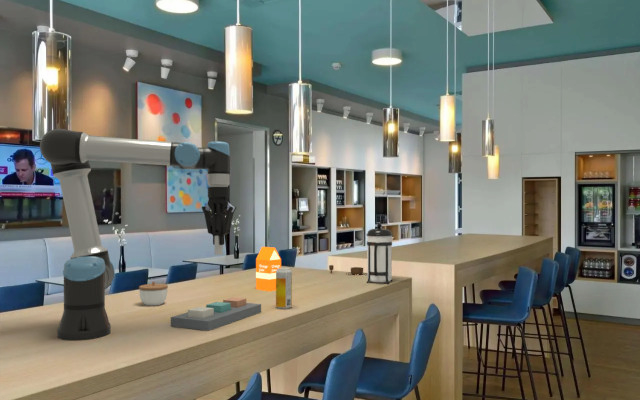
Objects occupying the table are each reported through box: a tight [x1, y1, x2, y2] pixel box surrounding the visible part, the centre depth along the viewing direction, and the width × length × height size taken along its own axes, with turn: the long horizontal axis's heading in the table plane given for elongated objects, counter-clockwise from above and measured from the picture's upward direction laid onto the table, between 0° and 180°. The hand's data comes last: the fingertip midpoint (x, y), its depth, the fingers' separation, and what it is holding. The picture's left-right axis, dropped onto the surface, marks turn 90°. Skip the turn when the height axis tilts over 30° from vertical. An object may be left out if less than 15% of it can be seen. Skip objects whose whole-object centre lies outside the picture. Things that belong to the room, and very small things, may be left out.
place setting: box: [328, 264, 367, 276], centre depth 304 cm, size 18×20×6 cm
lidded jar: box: [138, 281, 168, 307], centre depth 214 cm, size 11×11×9 cm
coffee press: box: [366, 223, 393, 285], centre depth 270 cm, size 17×16×30 cm
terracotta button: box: [222, 296, 247, 308], centre depth 198 cm, size 6×6×3 cm
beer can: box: [275, 267, 293, 310], centre depth 209 cm, size 6×6×15 cm
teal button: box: [205, 301, 231, 313], centre depth 189 cm, size 6×6×3 cm
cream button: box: [187, 306, 214, 318], centre depth 180 cm, size 6×6×3 cm
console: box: [170, 302, 262, 332], centre depth 189 cm, size 32×15×3 cm, turn 155°
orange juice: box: [255, 246, 282, 292], centre depth 250 cm, size 8×9×20 cm
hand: (218, 254), depth 189 cm, fingers closed
